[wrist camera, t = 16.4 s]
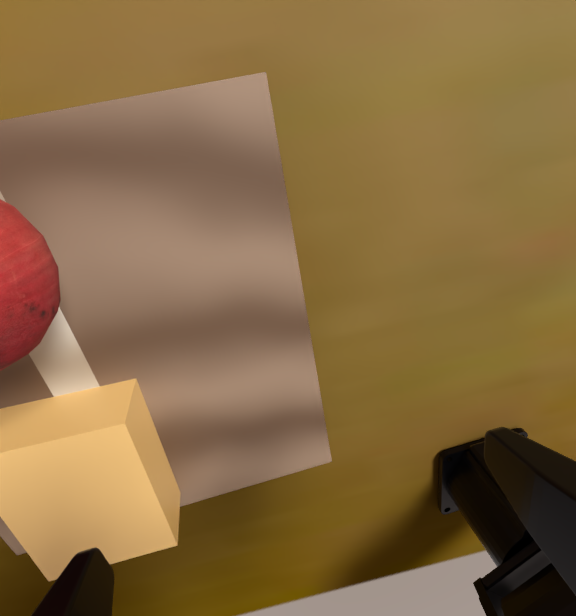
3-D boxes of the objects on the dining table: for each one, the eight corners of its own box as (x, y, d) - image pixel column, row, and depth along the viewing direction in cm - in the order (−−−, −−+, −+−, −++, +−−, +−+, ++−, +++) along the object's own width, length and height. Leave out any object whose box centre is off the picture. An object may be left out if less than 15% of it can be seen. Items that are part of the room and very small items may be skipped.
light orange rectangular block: (180, 492, 21) (177, 545, 19) (68, 522, 20) (48, 581, 18) (136, 378, 18) (124, 423, 15) (-3, 409, 17) (-41, 462, 14)
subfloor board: (324, 442, 24) (331, 461, 23) (27, 529, 22) (17, 555, 21) (260, 76, 15) (265, 72, 13) (-258, 171, 13) (-310, 177, 12)
